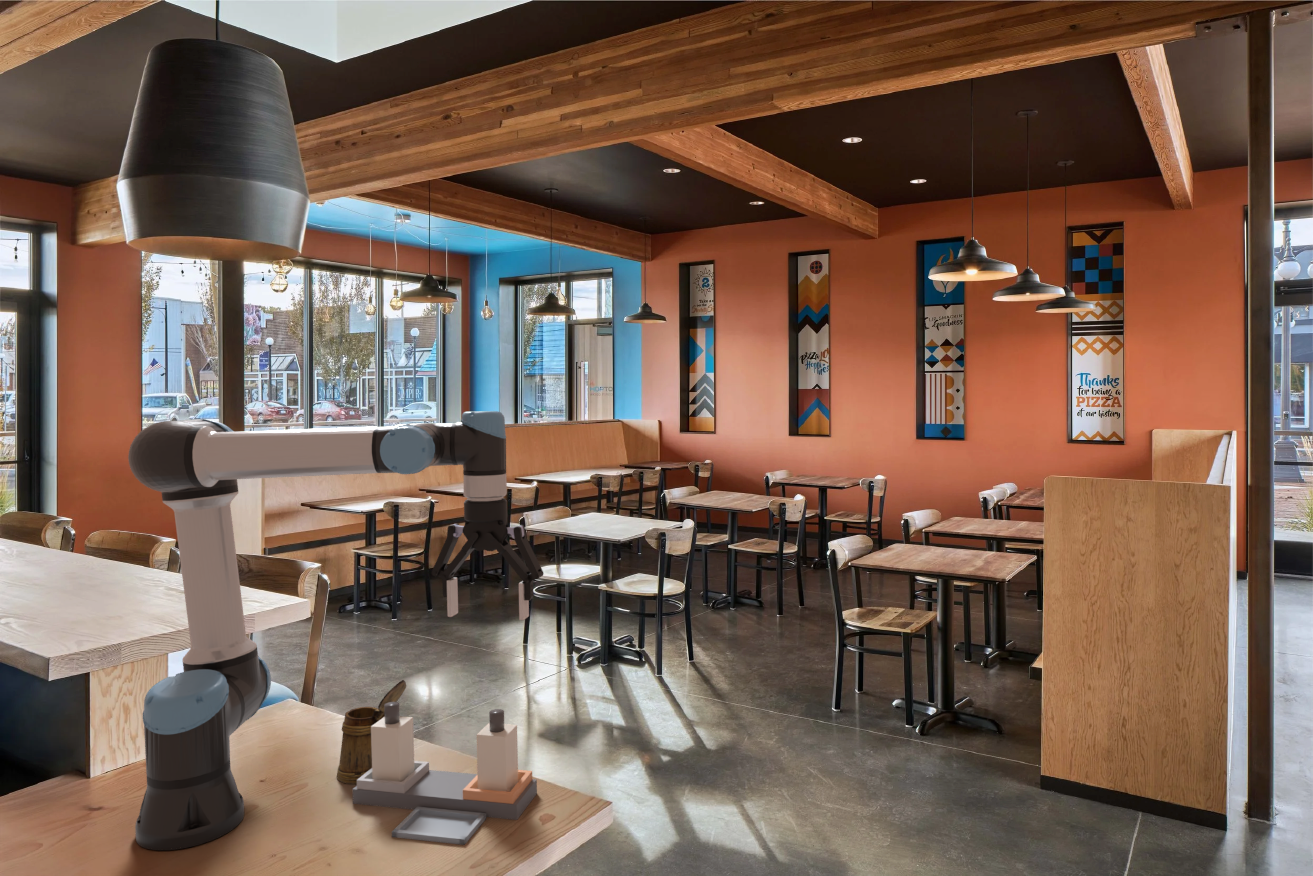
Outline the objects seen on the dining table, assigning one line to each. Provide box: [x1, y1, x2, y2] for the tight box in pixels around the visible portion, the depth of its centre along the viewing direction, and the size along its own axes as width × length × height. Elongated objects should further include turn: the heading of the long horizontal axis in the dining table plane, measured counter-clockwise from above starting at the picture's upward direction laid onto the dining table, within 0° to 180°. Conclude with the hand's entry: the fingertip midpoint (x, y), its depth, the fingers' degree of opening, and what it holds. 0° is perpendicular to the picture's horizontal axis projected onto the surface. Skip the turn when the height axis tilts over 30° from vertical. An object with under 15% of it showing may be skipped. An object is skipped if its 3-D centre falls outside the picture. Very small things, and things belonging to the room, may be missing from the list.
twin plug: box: [371, 701, 415, 782], centre depth 141 cm, size 5×5×13 cm
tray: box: [391, 807, 487, 846], centre depth 130 cm, size 12×8×1 cm, turn 78°
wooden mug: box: [336, 679, 407, 785], centre depth 150 cm, size 9×14×18 cm, turn 72°
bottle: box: [476, 708, 519, 792], centre depth 137 cm, size 5×5×13 cm
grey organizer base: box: [351, 760, 538, 821], centre depth 139 cm, size 29×9×4 cm, turn 78°
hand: (488, 616), depth 148 cm, fingers open, 13 cm apart
